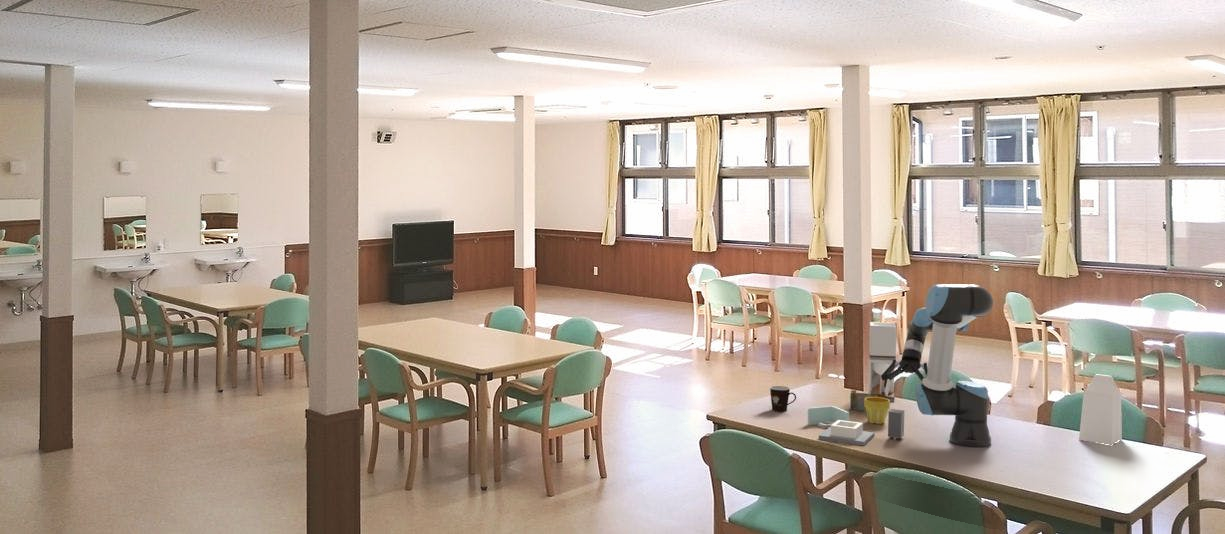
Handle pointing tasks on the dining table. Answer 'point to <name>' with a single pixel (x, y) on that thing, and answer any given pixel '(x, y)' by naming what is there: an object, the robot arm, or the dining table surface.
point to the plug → (896, 423)
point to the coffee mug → (780, 398)
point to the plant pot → (876, 409)
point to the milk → (1101, 411)
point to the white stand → (881, 357)
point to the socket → (847, 433)
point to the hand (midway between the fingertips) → (903, 396)
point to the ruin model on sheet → (859, 400)
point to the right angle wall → (826, 416)
